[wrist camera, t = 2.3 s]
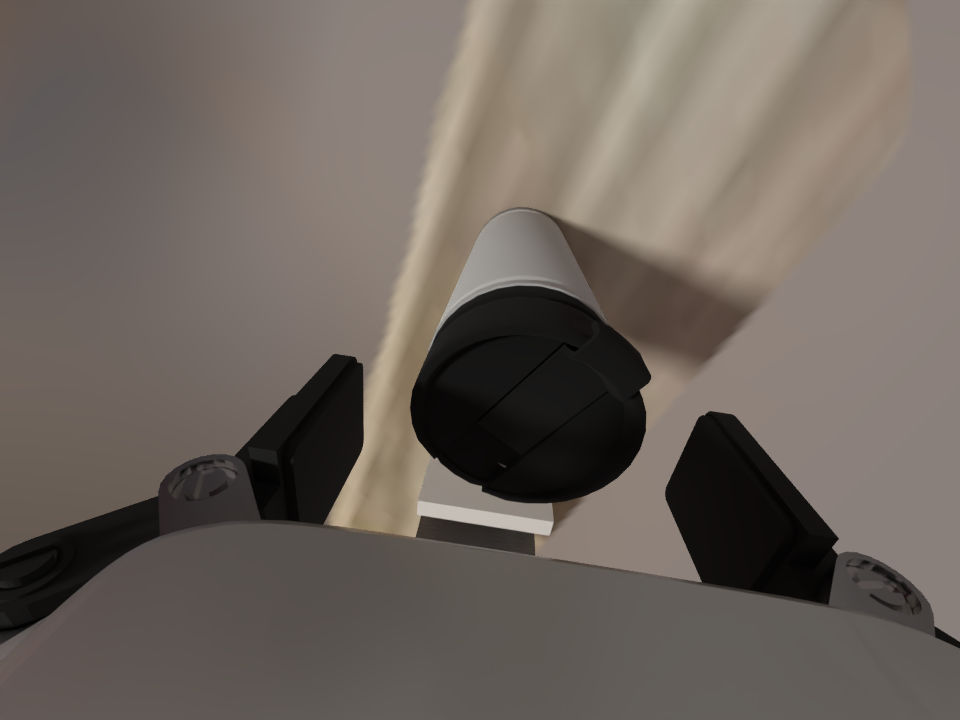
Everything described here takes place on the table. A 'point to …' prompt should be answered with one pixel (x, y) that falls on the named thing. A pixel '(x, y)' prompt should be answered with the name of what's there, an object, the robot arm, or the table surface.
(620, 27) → the table surface
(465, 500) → the white flat slab
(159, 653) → the robot arm
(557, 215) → the table surface
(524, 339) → the travel mug
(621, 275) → the table surface
